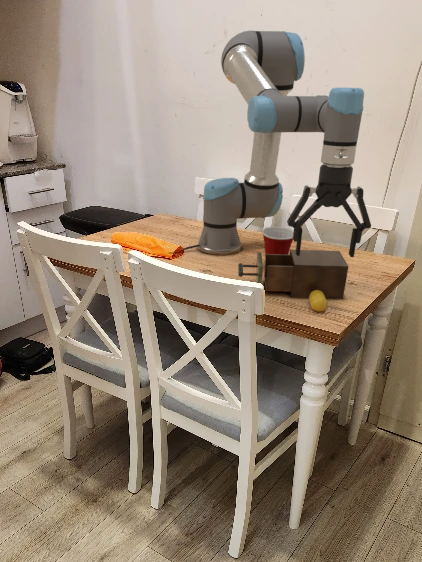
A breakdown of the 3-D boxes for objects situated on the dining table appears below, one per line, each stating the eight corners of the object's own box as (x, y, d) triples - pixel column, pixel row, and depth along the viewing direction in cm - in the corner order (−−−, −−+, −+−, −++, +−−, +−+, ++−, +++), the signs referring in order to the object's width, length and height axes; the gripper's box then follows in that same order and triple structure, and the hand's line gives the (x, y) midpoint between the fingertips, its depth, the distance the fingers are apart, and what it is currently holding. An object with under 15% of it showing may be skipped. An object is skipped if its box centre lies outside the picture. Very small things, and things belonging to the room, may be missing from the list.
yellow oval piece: (310, 313, 128) (312, 299, 125) (307, 301, 134) (309, 287, 132) (326, 314, 127) (329, 299, 125) (322, 302, 134) (324, 288, 132)
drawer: (237, 292, 137) (238, 265, 133) (237, 276, 148) (238, 251, 144) (304, 294, 137) (308, 267, 133) (300, 278, 147) (302, 253, 143)
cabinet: (291, 297, 137) (294, 264, 132) (286, 280, 148) (290, 249, 143) (343, 299, 136) (348, 266, 131) (334, 281, 148) (339, 250, 143)
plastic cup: (269, 275, 151) (272, 237, 145) (253, 264, 160) (255, 228, 153) (298, 271, 155) (303, 234, 149) (281, 261, 164) (285, 225, 157)
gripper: (284, 166, 109) (276, 258, 120) (395, 168, 108) (377, 261, 120) (281, 161, 116) (274, 248, 127) (387, 163, 115) (370, 251, 126)
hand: (324, 255), depth 123 cm, fingers open, 13 cm apart
